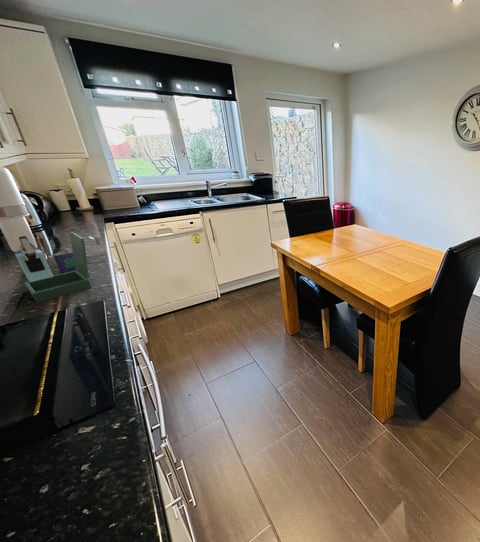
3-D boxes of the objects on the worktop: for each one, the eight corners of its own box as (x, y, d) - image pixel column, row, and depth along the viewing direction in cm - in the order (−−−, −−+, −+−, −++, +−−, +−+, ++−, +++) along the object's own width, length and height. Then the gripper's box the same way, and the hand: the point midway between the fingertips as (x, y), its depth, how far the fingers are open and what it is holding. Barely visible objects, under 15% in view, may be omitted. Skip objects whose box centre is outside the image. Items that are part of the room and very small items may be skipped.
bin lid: (80, 238, 104) (99, 238, 108) (69, 231, 111) (87, 231, 115) (86, 278, 108) (104, 276, 112) (75, 269, 115) (92, 267, 120)
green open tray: (37, 304, 99) (32, 293, 97) (29, 292, 106) (23, 282, 105) (92, 289, 110) (88, 279, 108) (80, 279, 118) (76, 270, 116)
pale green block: (30, 282, 87) (17, 256, 84) (27, 278, 89) (14, 253, 86) (53, 276, 91) (42, 252, 88) (50, 273, 93) (39, 249, 90)
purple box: (87, 267, 129) (79, 245, 125) (90, 268, 128) (81, 246, 124) (60, 273, 122) (50, 250, 118) (62, 275, 121) (52, 252, 117)
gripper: (-16, 209, 83) (13, 266, 90) (-8, 218, 74) (24, 280, 82) (21, 206, 89) (46, 259, 96) (33, 213, 80) (59, 271, 88)
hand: (35, 268), depth 89 cm, fingers closed on pale green block, 4 cm apart
